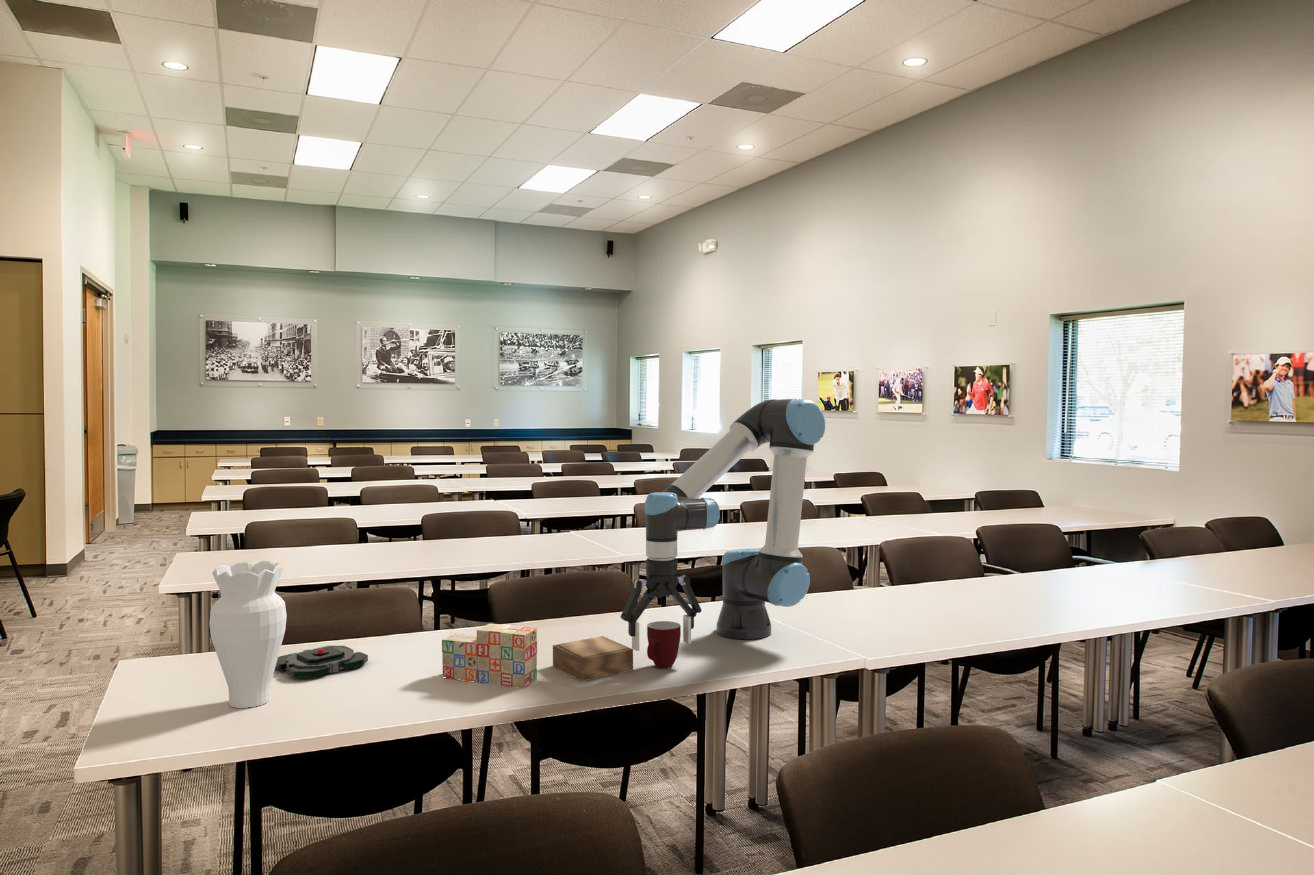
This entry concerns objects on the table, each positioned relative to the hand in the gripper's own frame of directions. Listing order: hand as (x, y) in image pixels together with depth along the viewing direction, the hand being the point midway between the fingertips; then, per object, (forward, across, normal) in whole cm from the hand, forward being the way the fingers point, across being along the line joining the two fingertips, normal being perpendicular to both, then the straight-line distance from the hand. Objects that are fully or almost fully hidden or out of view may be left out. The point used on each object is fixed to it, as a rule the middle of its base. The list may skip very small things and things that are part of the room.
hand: (661, 646), depth 202 cm
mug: (+6, 0, 0) cm, 6 cm away
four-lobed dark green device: (+6, +74, -36) cm, 83 cm away
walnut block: (+5, +15, -7) cm, 17 cm away
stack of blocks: (+6, +39, -9) cm, 41 cm away
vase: (+6, +89, -16) cm, 91 cm away
